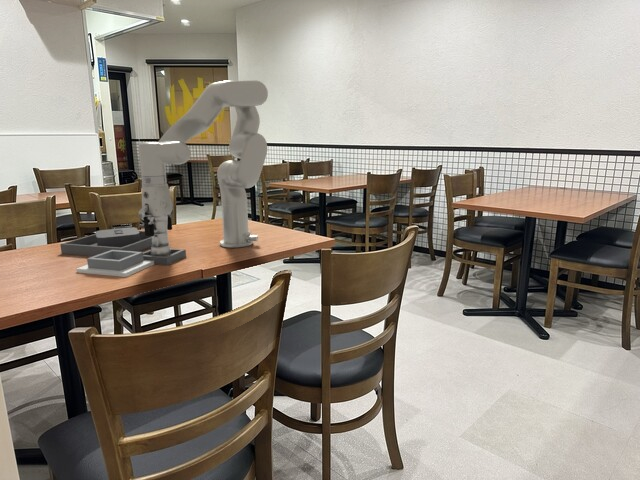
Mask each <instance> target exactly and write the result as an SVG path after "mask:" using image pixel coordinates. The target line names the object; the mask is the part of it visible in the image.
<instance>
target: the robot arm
mask: <svg viewBox="0 0 640 480" xmlns="http://www.w3.org/2000/svg"><path fill="white" fill-rule="evenodd" d="M268 95H269V91H268V89H267V86H266V85H265V83H264V82H262V81H260V80H254V79H253V80H223V81H222V80H221V81H217V82H216V81H215V82H212V83H210V84H208V85H207V86H206V88H205V89H204V90H203V91H202V92H201V94H200V95H199V97H198V98H197V100H196V101H195V102H194V103H193V105H191V107H190V108H189V110H188V111H187V112H186V113H185V114H184V115H182V116H181V117H180V118H179V119H178V120H177V121H175V123H173V124H172V125H171V126H170V127H169V128H168V129H167V130H166V131H165V132H164V133H163V135H162V136H161V137H160V139H159V140H158V142H156V141H151V142H149V141H148V142H147V141H146V142H141V143H139V144H138V154H139V155H138V156H139V166H140V175H141V184H142V185H141V186H142V187H141V208H140V210H139V211H138V213H137V215H138V216H139V218H140V221H141V222H142V224H143V227H144V229H143V231H145V236H154V235H155V234H154V224H152V222H153V219H154V217H160V216H162V215H164V214H167V216H168V224H167V231H172V230H173V222H172V219H173V213H174V205H175V204H174V203H172V202H173V201H172V197H171V191H170V188H169V185H168V183H167V182H168V181H167V171H166V165H176V166H177V165H182V164H183V165H184V164H185V163H187V162H188V161H189V160H190V158H191V150H190V147H189V146H188V145H187V144H186V143H187V142H188V141H189V140H191V139H193V138H194V137H196V136H198V135H201V134H202V133H204V132H206V131H207V130H208V129H209V128H210V127H211V125H212V124H213V123H214V122H215V120H216V119H217V118H218V116H219V115H220V113H221V112H222V111H223V109H225V108H230V107H231V108H232V107H233V108H234V109H235V112H236V121H235V125H234V129H233V131H232V134H231V138H230V141H229V145H228V151H229V154H230V155H231V156H232V157H234V158H237V159H240V160H232V159H231V160H226V161H223V162H222V163H221V164H219V166H218V168H217V172H216V176H217V182H218V186H219V190H220V191H219V192H220V199H221V219H222V235H223V237H222V238H223V239H221V240H219V246H220V247H223V248H243V247H244V248H245V247H248V246H251V245H253V244H254V242H258V240H259V236H258V234H257V235H254V234H252V231H250V230H249V217H248V215H249V213H248V212H249V211H248V196H247V192H246V189H250V188H252V187H254V186H256V184H257V183H258V182H259V179H260V176H261V173H262V170H263V167H264V164H265V161H266V158H267V153H268V143H267V140H266V138H265V137H264V135H262V134H260V133H259V128H260V125H261V124H260V123H261V120H260V119H261V118H260V115H259V112H258V111H259V110H258V108H257V107H258V106H262V105H264V103H265V102H267V99H268ZM148 218H150V219H148Z"/></svg>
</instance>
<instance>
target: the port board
mask: <svg viewBox="0 0 640 480" xmlns="http://www.w3.org/2000/svg"><path fill="white" fill-rule="evenodd" d="M143 252H144V251H141V252H134V251H121V250H110V251H107V252H104V253H102V254H99V255H96V256H89V257H88V258H86V262H87V264H85V265H82V266H80V267H78V268H76V273H78V274H79V273H80V274H91V275H100V276H101V275H102V276H112V277H122V278H128V277H129V276H131V275H133V274H135V273H138V272H141V271H142V270H145V269H147V268H150V267H151V266H154V265H155V264H154V261H151V260H144V258H143Z"/></svg>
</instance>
